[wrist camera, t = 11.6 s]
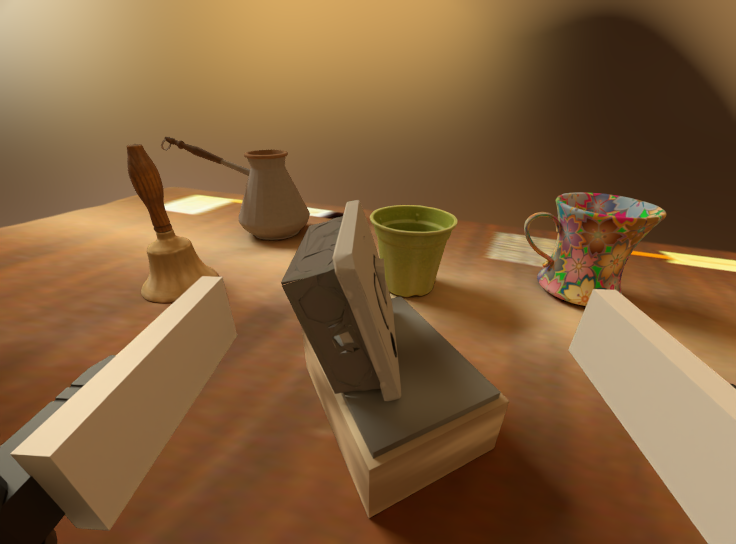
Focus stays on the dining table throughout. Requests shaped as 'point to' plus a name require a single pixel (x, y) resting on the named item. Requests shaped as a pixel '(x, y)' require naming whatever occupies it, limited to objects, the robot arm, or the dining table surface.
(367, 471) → the birch stand
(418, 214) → the plant pot
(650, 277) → the dining table surface
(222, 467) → the dining table surface
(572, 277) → the mug
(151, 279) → the hand bell
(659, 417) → the robot arm
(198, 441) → the dining table surface
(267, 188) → the coffee pot
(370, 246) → the electrical switch
